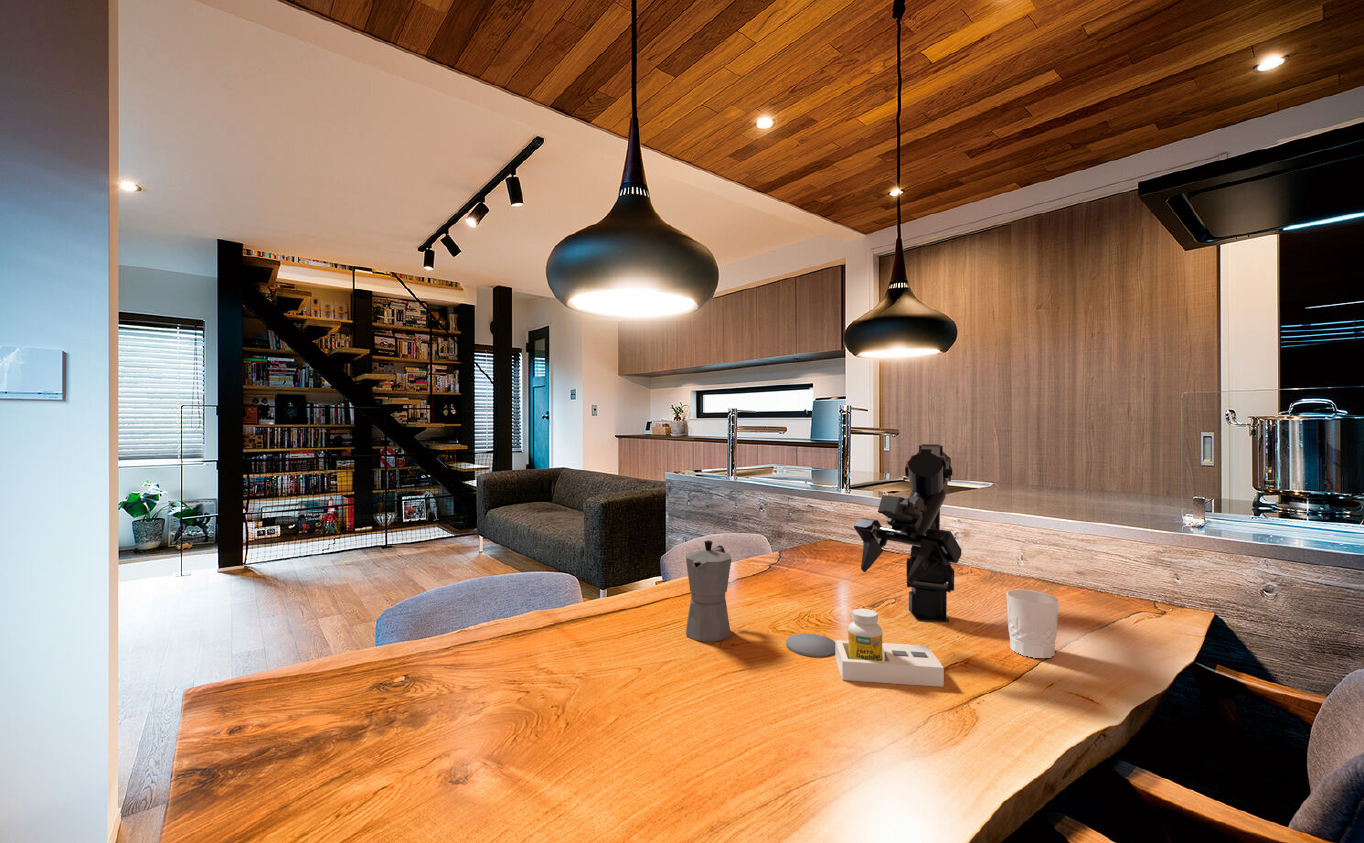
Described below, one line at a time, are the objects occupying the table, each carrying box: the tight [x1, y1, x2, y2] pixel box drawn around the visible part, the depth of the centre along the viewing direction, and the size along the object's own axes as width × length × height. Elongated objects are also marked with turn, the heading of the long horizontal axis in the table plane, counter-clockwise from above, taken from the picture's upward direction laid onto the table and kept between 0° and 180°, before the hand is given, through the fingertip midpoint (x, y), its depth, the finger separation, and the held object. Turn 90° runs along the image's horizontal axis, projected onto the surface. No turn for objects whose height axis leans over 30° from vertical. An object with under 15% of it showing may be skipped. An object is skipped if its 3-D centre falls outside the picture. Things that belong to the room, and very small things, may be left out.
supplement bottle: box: [847, 608, 883, 661], centre depth 92 cm, size 5×5×10 cm
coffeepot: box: [685, 540, 732, 643], centre depth 108 cm, size 15×9×18 cm, turn 157°
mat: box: [785, 633, 835, 658], centre depth 101 cm, size 9×9×1 cm
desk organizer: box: [834, 639, 945, 688], centre depth 91 cm, size 15×8×3 cm, turn 82°
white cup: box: [1006, 589, 1059, 659], centre depth 99 cm, size 8×8×10 cm
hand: (884, 575), depth 97 cm, fingers open, 9 cm apart
